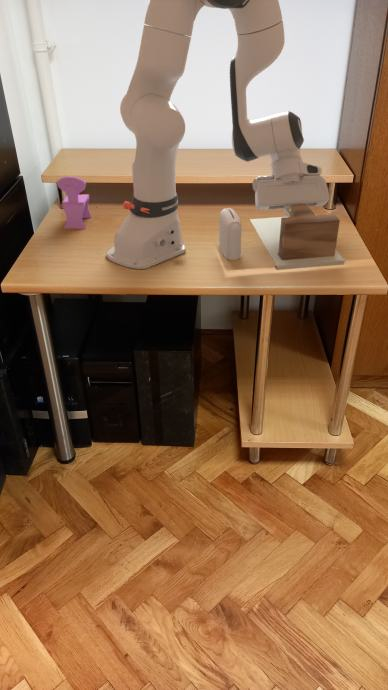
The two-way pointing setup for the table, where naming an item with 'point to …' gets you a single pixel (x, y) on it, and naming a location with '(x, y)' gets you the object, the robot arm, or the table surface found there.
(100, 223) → the table surface
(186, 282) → the table surface
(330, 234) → the t block
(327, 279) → the table surface
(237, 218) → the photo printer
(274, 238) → the board
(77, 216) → the toy chair
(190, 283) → the table surface
